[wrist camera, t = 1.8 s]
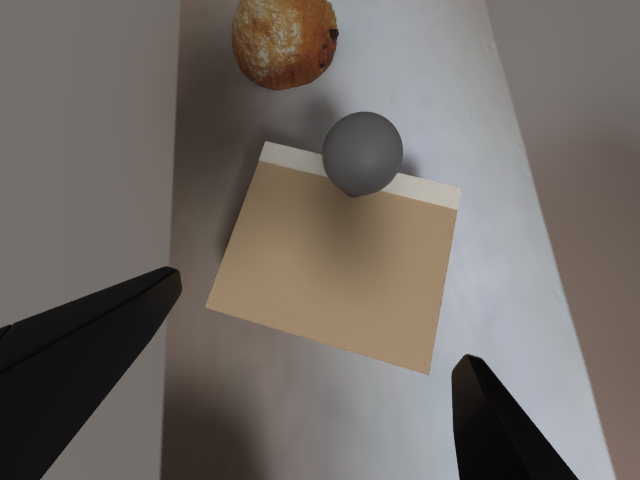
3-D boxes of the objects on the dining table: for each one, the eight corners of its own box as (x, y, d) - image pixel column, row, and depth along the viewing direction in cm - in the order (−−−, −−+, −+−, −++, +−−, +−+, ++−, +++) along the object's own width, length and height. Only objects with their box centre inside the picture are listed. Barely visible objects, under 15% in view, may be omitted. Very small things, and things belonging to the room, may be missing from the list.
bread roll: (267, 47, 33) (215, -23, 26) (345, 7, 28) (309, -91, 21) (262, 117, 31) (204, 61, 24) (347, 85, 26) (306, 5, 19)
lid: (425, 372, 17) (491, 418, 10) (208, 307, 18) (138, 308, 11) (458, 187, 19) (527, 125, 13) (269, 141, 21) (241, 63, 14)
